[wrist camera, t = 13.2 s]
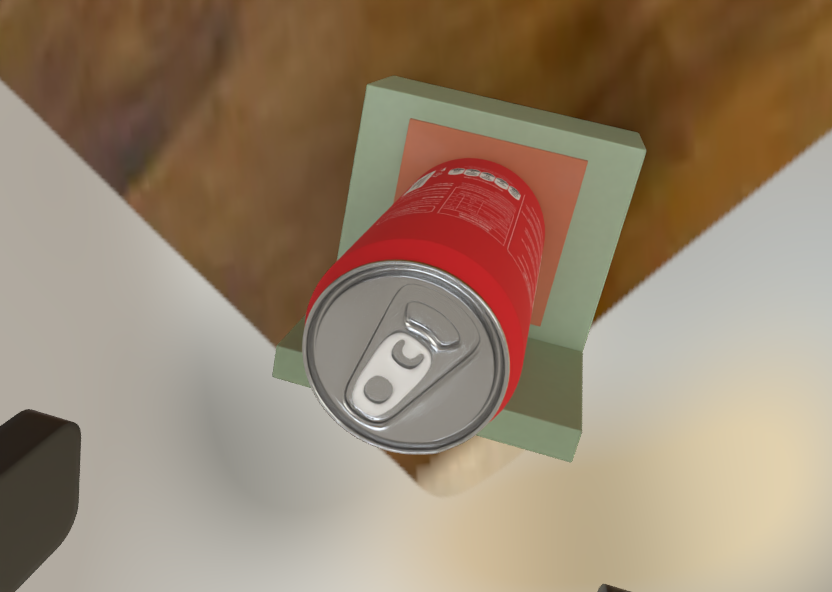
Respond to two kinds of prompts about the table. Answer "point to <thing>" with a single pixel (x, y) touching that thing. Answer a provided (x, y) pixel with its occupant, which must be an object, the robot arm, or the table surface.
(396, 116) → the shelf stand
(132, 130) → the table surface
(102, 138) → the table surface
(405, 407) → the beverage can
